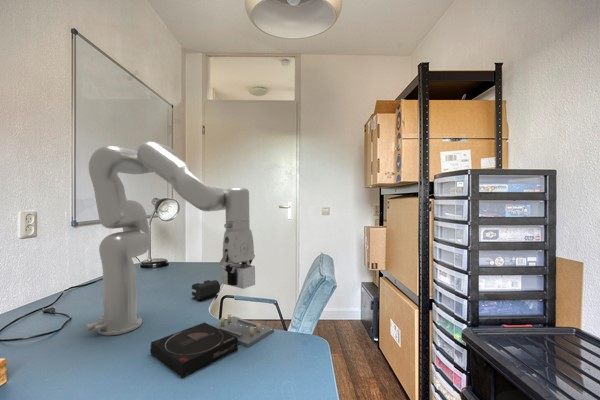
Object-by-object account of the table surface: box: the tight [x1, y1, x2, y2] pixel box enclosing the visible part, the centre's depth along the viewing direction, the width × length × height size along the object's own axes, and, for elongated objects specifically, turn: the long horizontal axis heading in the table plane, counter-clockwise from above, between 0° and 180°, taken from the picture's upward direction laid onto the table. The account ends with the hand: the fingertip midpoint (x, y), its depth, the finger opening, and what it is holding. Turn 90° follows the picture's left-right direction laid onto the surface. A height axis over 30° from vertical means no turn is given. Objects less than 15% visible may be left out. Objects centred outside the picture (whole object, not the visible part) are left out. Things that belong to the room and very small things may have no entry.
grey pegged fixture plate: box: [212, 313, 275, 348], centre depth 93 cm, size 12×18×4 cm, turn 57°
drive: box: [221, 263, 256, 290], centre depth 94 cm, size 5×10×6 cm, turn 55°
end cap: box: [191, 279, 221, 302], centre depth 126 cm, size 10×7×7 cm
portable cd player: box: [149, 322, 239, 379], centre depth 81 cm, size 16×17×4 cm
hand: (238, 282), depth 94 cm, fingers closed on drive, 5 cm apart
